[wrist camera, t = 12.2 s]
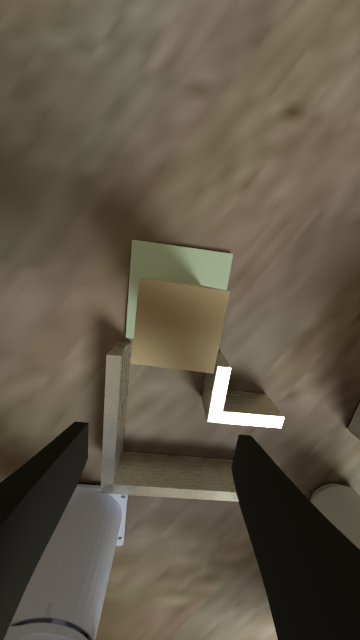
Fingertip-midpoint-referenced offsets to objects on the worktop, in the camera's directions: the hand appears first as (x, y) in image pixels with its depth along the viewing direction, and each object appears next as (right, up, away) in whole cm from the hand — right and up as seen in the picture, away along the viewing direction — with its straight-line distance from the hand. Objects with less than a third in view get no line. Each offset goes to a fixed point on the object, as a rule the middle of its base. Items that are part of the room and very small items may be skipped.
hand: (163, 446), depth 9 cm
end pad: (+1, +8, +9) cm, 12 cm away
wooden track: (+2, -4, +12) cm, 12 cm away
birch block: (0, +8, +8) cm, 11 cm away
